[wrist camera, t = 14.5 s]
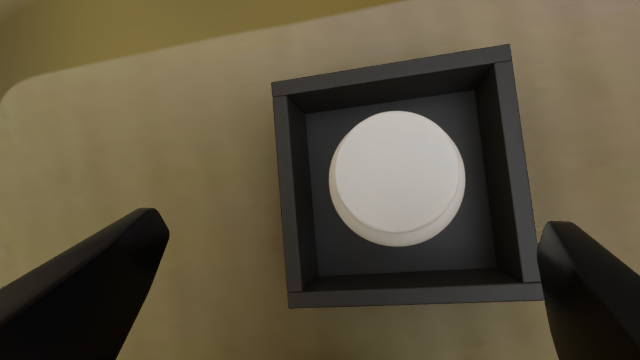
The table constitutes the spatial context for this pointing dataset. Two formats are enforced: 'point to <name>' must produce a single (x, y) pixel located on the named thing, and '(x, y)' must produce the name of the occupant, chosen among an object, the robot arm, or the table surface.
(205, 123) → the table surface
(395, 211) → the supplement bottle
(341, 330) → the table surface
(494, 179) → the bin
